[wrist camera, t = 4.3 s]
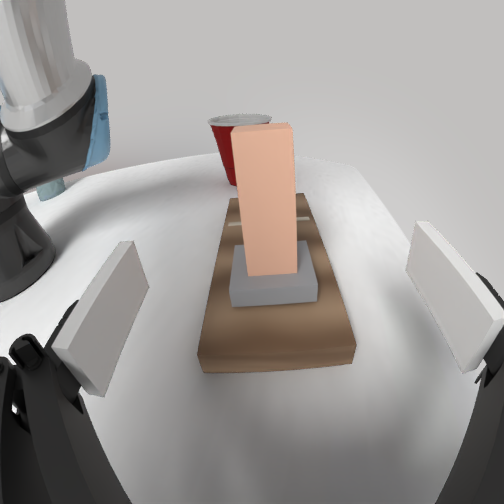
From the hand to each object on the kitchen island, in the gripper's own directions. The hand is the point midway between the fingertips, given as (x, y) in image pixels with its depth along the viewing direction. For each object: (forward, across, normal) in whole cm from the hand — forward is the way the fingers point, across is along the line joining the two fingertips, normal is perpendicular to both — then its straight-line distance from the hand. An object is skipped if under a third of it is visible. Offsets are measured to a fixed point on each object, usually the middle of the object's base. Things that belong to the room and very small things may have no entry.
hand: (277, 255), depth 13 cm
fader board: (+13, 0, -9) cm, 16 cm away
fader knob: (+7, 0, -7) cm, 10 cm away
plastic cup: (+40, -4, -10) cm, 41 cm away
